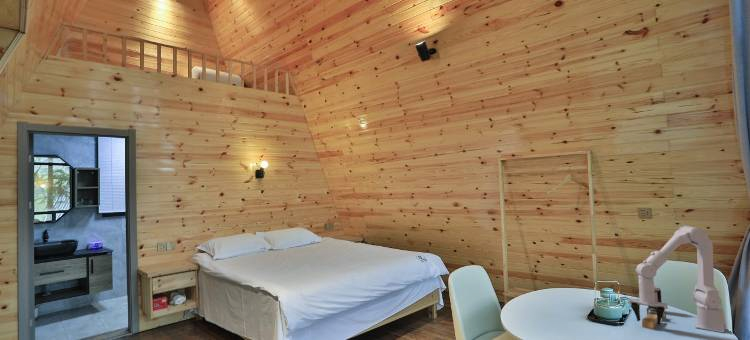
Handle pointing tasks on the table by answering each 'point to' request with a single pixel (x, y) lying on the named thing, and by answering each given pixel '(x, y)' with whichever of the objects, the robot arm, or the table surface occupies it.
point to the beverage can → (656, 297)
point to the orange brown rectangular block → (649, 321)
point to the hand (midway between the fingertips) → (648, 322)
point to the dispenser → (656, 313)
